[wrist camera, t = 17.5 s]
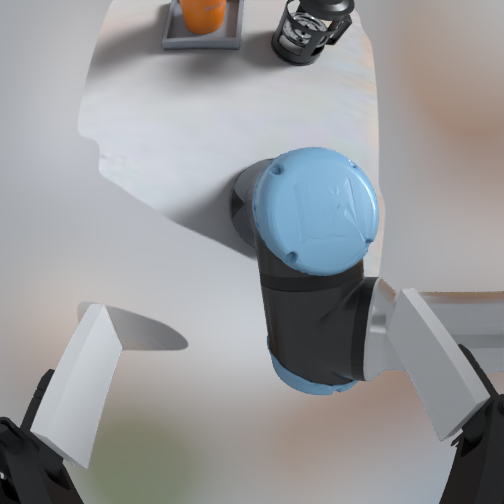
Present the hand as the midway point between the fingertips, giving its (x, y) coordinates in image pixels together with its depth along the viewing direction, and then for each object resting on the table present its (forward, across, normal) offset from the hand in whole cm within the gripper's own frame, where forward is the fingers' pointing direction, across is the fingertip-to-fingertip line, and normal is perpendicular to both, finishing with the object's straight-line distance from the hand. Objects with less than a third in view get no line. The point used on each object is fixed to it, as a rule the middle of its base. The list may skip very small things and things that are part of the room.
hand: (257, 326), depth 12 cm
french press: (+45, +12, +22) cm, 52 cm away
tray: (+46, -6, +28) cm, 54 cm away
